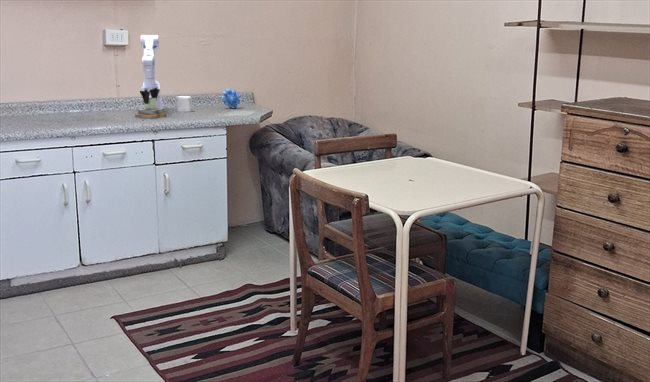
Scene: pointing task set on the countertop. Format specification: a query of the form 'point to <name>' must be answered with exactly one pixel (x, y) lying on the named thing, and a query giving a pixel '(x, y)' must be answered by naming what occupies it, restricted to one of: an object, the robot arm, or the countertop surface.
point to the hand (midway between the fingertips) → (150, 103)
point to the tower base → (150, 116)
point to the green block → (151, 104)
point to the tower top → (151, 111)
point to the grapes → (231, 98)
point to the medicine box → (184, 104)
